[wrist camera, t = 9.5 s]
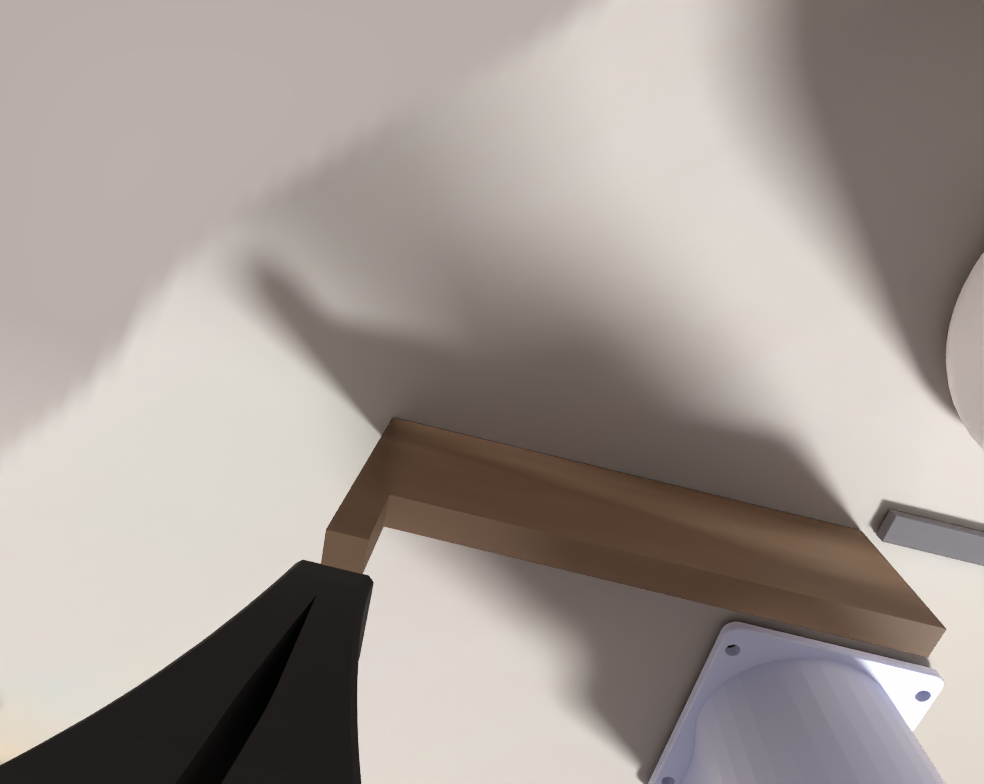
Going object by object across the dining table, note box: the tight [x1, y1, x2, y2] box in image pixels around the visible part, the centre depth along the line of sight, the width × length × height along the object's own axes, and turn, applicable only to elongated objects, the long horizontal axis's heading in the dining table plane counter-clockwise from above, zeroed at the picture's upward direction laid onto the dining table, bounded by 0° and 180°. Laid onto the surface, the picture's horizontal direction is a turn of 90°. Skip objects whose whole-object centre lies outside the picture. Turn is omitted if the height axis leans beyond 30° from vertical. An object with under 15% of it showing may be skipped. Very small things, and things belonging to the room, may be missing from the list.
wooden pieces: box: [321, 418, 946, 657], centre depth 14 cm, size 19×16×6 cm
